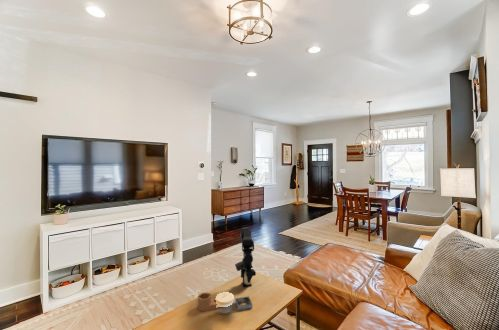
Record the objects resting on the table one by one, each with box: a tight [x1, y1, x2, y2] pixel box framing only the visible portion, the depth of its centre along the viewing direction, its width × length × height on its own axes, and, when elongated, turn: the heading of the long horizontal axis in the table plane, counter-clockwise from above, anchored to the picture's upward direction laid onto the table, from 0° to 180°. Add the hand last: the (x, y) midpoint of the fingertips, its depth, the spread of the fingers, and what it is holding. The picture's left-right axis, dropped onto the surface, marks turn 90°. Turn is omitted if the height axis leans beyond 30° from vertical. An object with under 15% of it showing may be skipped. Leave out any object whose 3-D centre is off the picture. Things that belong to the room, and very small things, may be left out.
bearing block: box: [234, 296, 253, 312], centre depth 148 cm, size 9×9×2 cm
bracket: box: [197, 292, 217, 312], centre depth 148 cm, size 18×8×7 cm, turn 107°
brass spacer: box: [244, 274, 252, 285], centre depth 157 cm, size 5×5×6 cm
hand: (247, 281), depth 157 cm, fingers closed on brass spacer, 5 cm apart
